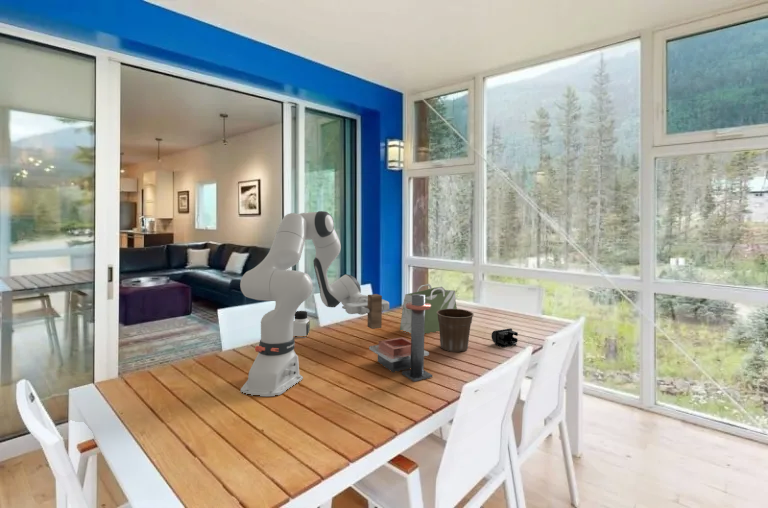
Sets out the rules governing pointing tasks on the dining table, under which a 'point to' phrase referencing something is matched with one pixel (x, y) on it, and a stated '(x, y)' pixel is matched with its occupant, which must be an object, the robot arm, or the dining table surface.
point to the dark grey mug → (504, 337)
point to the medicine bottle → (301, 324)
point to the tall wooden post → (375, 311)
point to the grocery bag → (438, 301)
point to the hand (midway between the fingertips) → (375, 310)
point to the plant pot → (454, 329)
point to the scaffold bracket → (407, 345)
